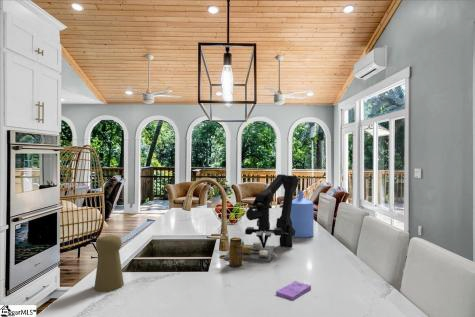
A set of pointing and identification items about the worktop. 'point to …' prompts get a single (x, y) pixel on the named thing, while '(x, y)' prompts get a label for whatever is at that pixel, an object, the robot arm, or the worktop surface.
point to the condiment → (235, 254)
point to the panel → (256, 254)
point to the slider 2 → (257, 246)
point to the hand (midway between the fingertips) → (263, 247)
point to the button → (263, 253)
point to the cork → (108, 264)
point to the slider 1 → (246, 249)
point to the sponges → (293, 290)
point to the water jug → (302, 216)
